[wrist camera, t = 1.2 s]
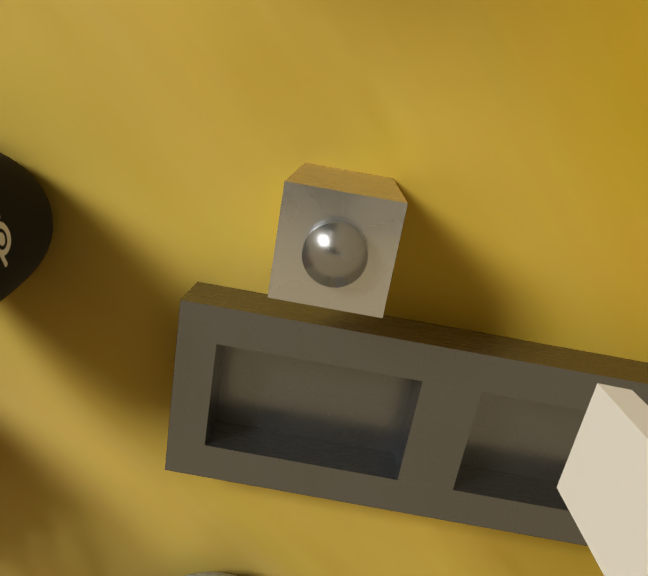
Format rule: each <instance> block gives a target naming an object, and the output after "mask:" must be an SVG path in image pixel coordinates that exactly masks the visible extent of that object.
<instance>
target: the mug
mask: <svg viewBox="0 0 648 576" xmlns="http://www.w3.org/2000/svg"><path fill="white" fill-rule="evenodd" d="M52 229H53V221H52V213H51V209H50V205H49V203H48V200H47V198H46V195H45V193H44V192H43V190H42V188H41V187H40V185H39V184H38V182H37V181H36V180H35V178H34V177H33V176H32V175H31V174H30V173H29V172H28V171H27V170H26V169H24V168H23V167H22V166H21V165H19V164H18V163H17V162H15V161H14V160H12V159H10V158H9V157H7V156H5V155H3V154H1V153H0V301H1V300H3V299H4V298H5V297H6V296H8V295H9V294H10V293H11V292H13V291H14V290H15V289H16V288H17V287H18V286H19V285H21V284H22V283H23V282H24V281H25V280H26V279H27V278H28V277H29V276H30V275H31V274H32V273H33V271H34V270H35V269H36V268H37V267H38V266H39V264H40V263H41V261H42V260H43V258H44V256H45V254H46V252H47V250H48V247H49V245H50V241H51V237H52Z"/></svg>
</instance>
